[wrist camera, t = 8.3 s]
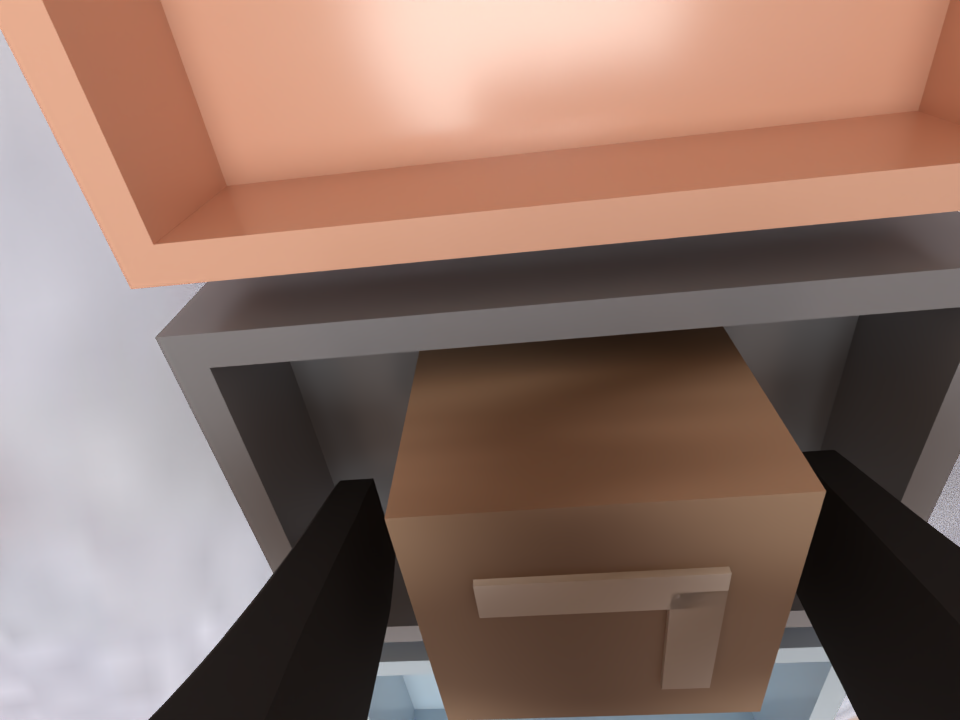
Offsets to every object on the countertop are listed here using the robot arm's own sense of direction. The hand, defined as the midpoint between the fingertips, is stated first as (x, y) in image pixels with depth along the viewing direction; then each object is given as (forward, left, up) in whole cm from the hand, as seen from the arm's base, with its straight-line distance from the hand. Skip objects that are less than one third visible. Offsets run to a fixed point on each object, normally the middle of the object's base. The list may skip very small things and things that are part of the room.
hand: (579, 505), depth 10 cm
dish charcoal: (0, 0, -3) cm, 3 cm away
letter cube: (0, 0, -2) cm, 3 cm away
